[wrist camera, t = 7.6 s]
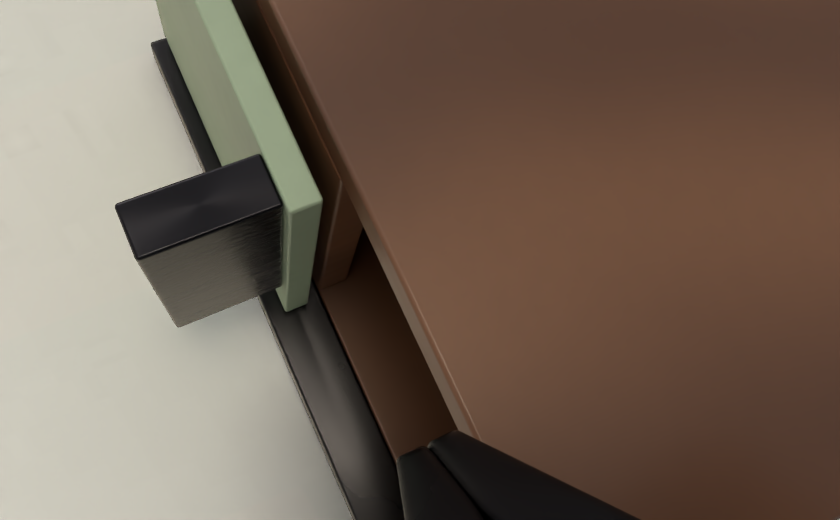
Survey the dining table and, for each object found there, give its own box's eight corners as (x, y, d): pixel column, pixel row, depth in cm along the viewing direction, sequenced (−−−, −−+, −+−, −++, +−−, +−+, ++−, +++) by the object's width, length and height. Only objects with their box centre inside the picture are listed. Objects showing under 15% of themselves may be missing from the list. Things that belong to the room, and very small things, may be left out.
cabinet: (768, 419, 22) (1080, 372, 13) (397, 623, 19) (496, 730, 10) (510, -52, 25) (631, -336, 16) (154, 57, 22) (74, -223, 13)
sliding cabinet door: (308, 303, 19) (324, 201, 13) (190, 352, 19) (139, 271, 12) (185, 26, 21) (140, -199, 14) (71, 59, 20) (-34, -162, 13)
